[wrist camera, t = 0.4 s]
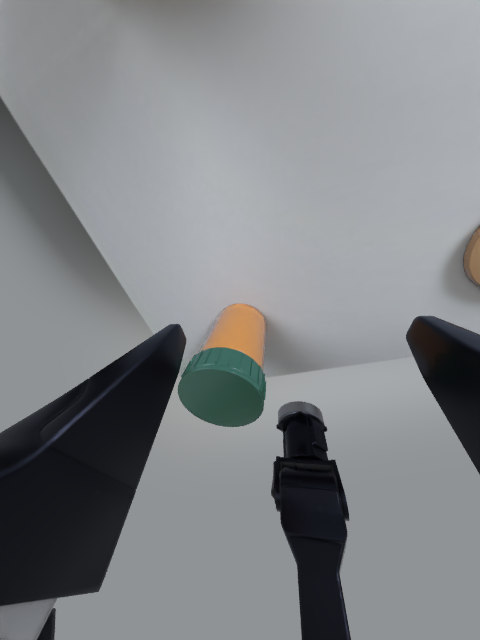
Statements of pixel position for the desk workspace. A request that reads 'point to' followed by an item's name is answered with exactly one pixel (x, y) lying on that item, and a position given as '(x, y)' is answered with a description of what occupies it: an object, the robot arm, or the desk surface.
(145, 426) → the robot arm
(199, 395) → the jar lid
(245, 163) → the desk surface
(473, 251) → the coaster
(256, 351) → the honey jar
